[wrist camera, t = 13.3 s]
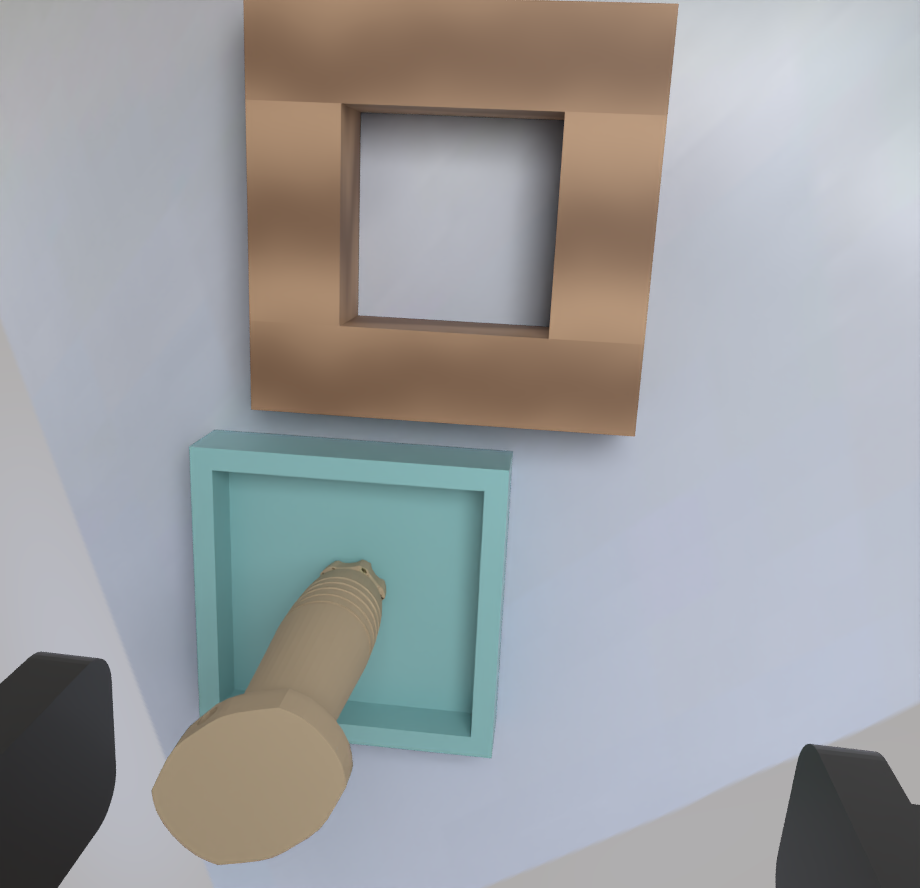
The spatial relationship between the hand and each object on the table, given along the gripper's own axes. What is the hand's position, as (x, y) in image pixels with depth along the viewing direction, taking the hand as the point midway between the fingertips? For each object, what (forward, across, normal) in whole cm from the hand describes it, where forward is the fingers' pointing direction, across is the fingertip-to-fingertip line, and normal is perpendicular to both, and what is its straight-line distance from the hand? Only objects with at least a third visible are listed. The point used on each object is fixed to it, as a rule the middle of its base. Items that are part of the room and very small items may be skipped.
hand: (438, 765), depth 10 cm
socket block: (+30, +3, -5) cm, 31 cm away
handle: (+29, +7, +12) cm, 32 cm away
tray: (+30, +7, +12) cm, 33 cm away
